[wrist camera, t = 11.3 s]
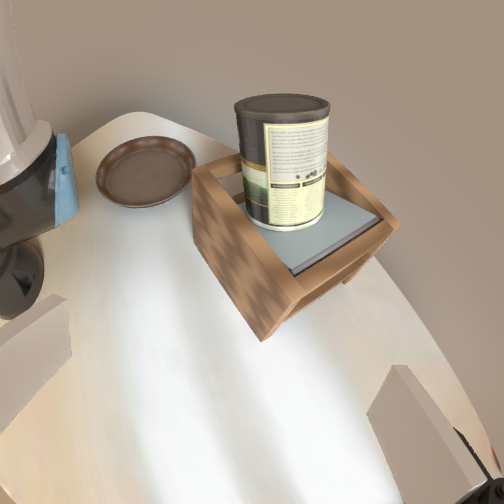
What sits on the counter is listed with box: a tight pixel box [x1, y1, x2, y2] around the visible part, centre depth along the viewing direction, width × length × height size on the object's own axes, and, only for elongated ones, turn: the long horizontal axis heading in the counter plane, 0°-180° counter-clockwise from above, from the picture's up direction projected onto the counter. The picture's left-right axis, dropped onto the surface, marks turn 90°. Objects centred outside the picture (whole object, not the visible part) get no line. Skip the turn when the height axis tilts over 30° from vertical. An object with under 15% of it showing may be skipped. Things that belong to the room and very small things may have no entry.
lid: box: [238, 190, 380, 277], centre depth 36 cm, size 15×15×1 cm
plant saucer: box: [96, 136, 196, 208], centre depth 52 cm, size 21×21×3 cm
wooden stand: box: [192, 151, 400, 342], centre depth 40 cm, size 20×20×16 cm
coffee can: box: [234, 94, 330, 232], centre depth 32 cm, size 10×10×14 cm
